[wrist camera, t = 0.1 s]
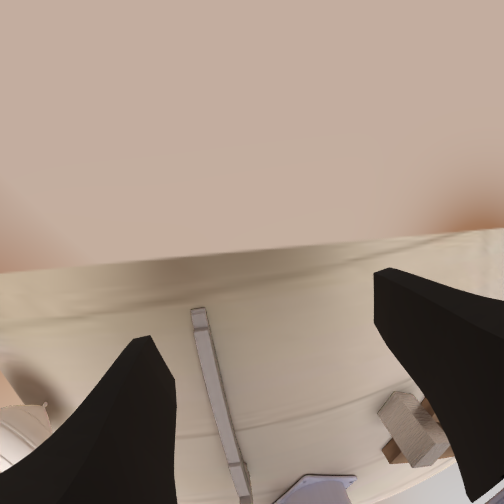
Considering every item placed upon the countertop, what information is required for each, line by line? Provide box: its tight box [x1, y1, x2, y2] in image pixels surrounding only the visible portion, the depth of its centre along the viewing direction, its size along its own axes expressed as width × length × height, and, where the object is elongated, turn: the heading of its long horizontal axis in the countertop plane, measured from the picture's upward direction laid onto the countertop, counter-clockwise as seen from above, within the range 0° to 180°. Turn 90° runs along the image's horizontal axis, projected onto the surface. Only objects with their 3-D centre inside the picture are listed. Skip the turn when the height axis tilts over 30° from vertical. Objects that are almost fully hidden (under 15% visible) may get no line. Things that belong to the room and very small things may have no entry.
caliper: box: [191, 308, 253, 504], centre depth 19 cm, size 20×1×6 cm, turn 8°
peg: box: [377, 391, 450, 468], centre depth 20 cm, size 3×3×8 cm
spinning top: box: [0, 402, 53, 473], centre depth 14 cm, size 8×8×12 cm
